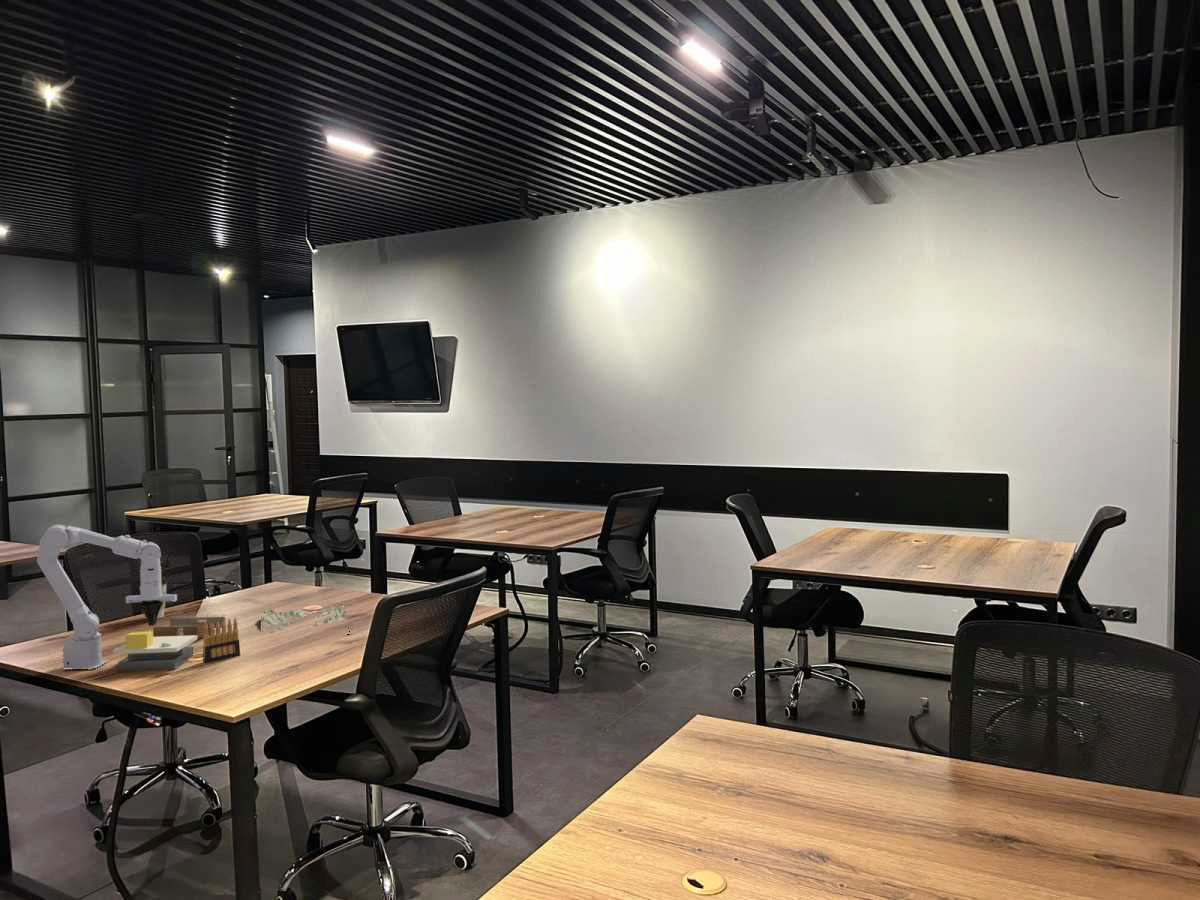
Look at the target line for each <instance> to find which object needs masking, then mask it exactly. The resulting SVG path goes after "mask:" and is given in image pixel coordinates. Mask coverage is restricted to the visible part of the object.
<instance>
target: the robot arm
mask: <svg viewBox="0 0 1200 900" xmlns="http://www.w3.org/2000/svg"><path fill="white" fill-rule="evenodd" d="M68 542H69V545H74V544H78V543H85V544H86V543H87V544H91V545H95V546H99V547H105V548H108V549H111V551H112V553H113V554H115V555H119V556H121V557H122V556H123V557H127V558H131V559H135V560H137V559H140V566H141V567H140V568H139V569H140V570H139V572H140V574H139V575H140V578H139V579H140V580H141V595H140V594H139V595H127V596H125V604H131V603H140V605H139V607H140V609H141V610H142V612H143V615H144V614H145V616H146V618H147V620H146V621H147V624H148V626H150V627H151V626H153V627H154V626H156V625H157V621H158V620H157V616H158V613H159V611H160V608H161V606H162V604H163V602H165V603H166V602H172V603H173V602H176V601H178V594H175V593H174V594H173V593H172V594H171V593H170V594H169V593H166V594H162V586H161V577H162V567H161V556H162V551H161V548H160V547H159V545H158V544H156V543H155V542H153V541H148V542H147V539H146V540H145V539H143V540H139V539H135V538H132V537H131V535H129V534H125V535H119V536H117V537H111V536H108V535H105V534H103V533H98V532H94V531H93V530H92V531H91V530H88V529H85V528H82V527H77V526H73V525H64V524H61V523H60V524H59V523H58V524H54V525H51V526H49V527H48V528H47V529H46V531H45V532H44V534H43V535H42V537H41V539H40V540H39V546H38V553H37V557H36V558H37V559H36V563H37V565H38V567H39V568H40V570H41V571H42V573H43V575H44V576H45V578H46V580H47V581H48V583H49V585H50V586H51V588H52V589H53V590H54V593H55V594H56V596H57V598H58V599H59V600H60V602H61V604H62V606H63V607H64V608H65V610H66V612H67V614H68V616H69V619H70V622H71V623H72V626H73V634H74V635H73V636H72V637H69V638H66V640H65V641H64V643H63V647H62V657H63V668H72V669H73V668H74V669H76V668H77V669H82V668H83V669H84V668H96V669H98V668H100V667H101V666H103V665H104V663H105V664H106V663H108V662H109V661H108V659H107V660H105V659H103V657H102V656H103V655H102V633H100V631H99V625H100V618H99V616H98V615H97V614H96V613H93V612H92V611H91V610H90V608H89V607H88V606H87V604H85V602H84V601H83V599H82V597H81V596H80V594H79V593H78V591H77V589H76V587H75V586H74V584H73V582H72V581H71V580H70V578H69V576H68V575H67V573H66V571H65V570H64V568H63V566H62V565H61V563H60V561H59V555H60V553H61V551H62V549H64V547H65V546H66V545H67V544H68ZM107 661H108V662H107ZM102 664H103V665H102ZM99 666H100V667H99ZM97 667H98V668H97Z"/></svg>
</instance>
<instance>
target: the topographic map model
mask: <svg viewBox="0 0 1200 900" xmlns="http://www.w3.org/2000/svg"><path fill="white" fill-rule="evenodd" d="M321 611H322V613H321V614H318V616H321V615H326V614H331V615H336V614H339V613H342V614H341V615H340V614H339V615H336V616H335V618H331V617H327V618H326V619H325V620H324V621H323V623H328V624H331V623H332V622H335V621H337V622H339V621H342V620H347V621H348V615H347V612H346V611H347V610H346V608H345V602H342V603H341V604H340V605H339V606H338V607H333V606H331V607H330V608H326V609H322V610H321ZM323 611H325V612H323ZM260 613H261V614H260V615H261V618H260V630H261V629H262V628H263V627H265V626H270V625H277V624H278V623H284V624H283V626H288V625H291V624H289V623H290V622H288V621H294V620H290V619H287V618H285V617H296V618H298V617H304V616H307V615H306V614H312V613H314V612H311V611H306V610H298V609H292V610H289V611H288V612H287V611H286V612H283V611H280V613H279V612H277V611H275V610H273V609H267V610H262V611H261V612H260ZM328 616H330V615H328ZM315 617H316V616H315ZM323 617H326V616H323ZM319 618H321V617H319ZM320 624H322V622H320V623H319V622H315V624H314V625H312V626H319V625H320ZM278 630H284V629H283V628H279V629H278ZM278 630H273V629H272V630H271V631H269V632H270V633H275V632H278Z"/></svg>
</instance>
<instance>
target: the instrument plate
mask: <svg viewBox="0 0 1200 900" xmlns="http://www.w3.org/2000/svg"><path fill="white" fill-rule="evenodd" d="M197 640H198V637H197V635H191V636H183V635H180V636H162V637H153V630H151V631H150V630H149V631H148V630H146V631H131V632H129V633H127V634H125V643H123V644H121V645H120V646H118V647H115V648H114V649H112V655H125V654H126V655H128V654H131V653H158V652H177V651H179V650H180V649H182V648H184V647H188V646H189V645H190V644H192V643H193V642H195V641H197Z"/></svg>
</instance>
